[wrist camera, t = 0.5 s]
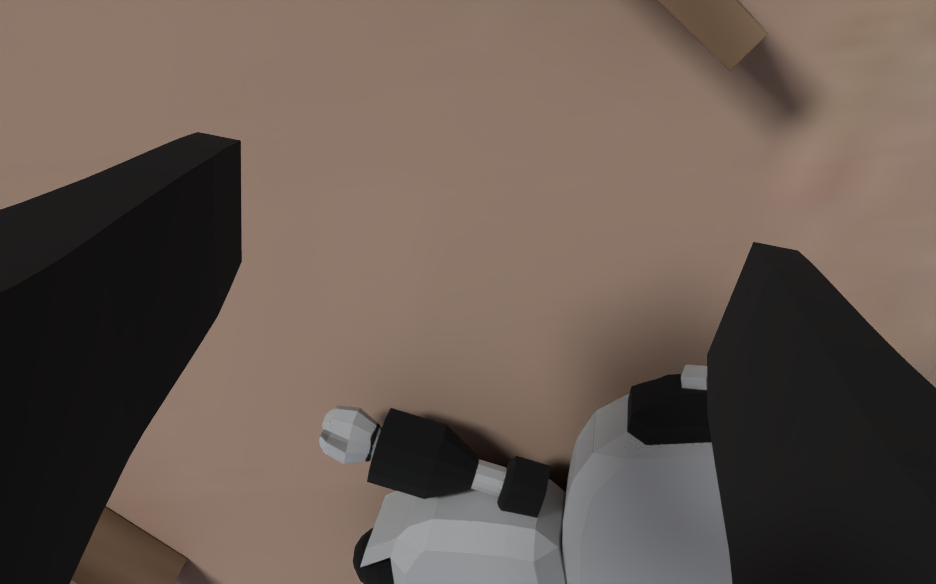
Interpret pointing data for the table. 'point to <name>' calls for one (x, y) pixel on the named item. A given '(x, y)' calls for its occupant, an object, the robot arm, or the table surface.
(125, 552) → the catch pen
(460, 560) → the robot toy
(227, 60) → the table surface
